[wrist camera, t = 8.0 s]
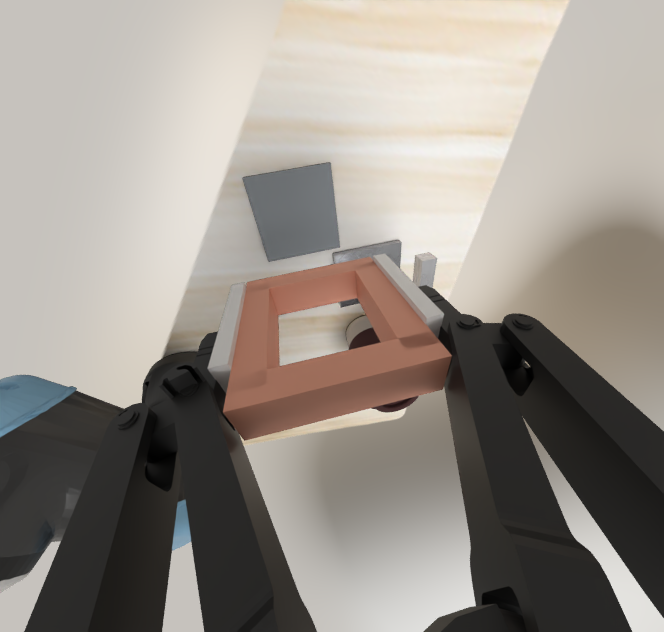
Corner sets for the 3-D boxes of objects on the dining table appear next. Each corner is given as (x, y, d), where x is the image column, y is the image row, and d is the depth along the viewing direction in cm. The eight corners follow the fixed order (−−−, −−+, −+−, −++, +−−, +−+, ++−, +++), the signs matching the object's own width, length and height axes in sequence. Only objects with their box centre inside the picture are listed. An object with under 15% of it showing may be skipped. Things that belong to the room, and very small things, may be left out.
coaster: (268, 259, 33) (268, 261, 32) (243, 177, 27) (242, 178, 26) (338, 245, 34) (339, 247, 33) (329, 162, 28) (330, 163, 27)
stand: (339, 305, 40) (380, 403, 25) (328, 217, 31) (379, 288, 16) (396, 292, 41) (468, 380, 26) (400, 203, 32) (512, 258, 17)
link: (257, 307, 16) (244, 440, 9) (247, 282, 15) (222, 412, 8) (370, 283, 17) (442, 389, 10) (370, 256, 15) (451, 355, 8)
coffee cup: (365, 355, 49) (396, 424, 37) (327, 338, 44) (348, 411, 32) (399, 321, 45) (445, 385, 33) (362, 298, 40) (399, 365, 28)
